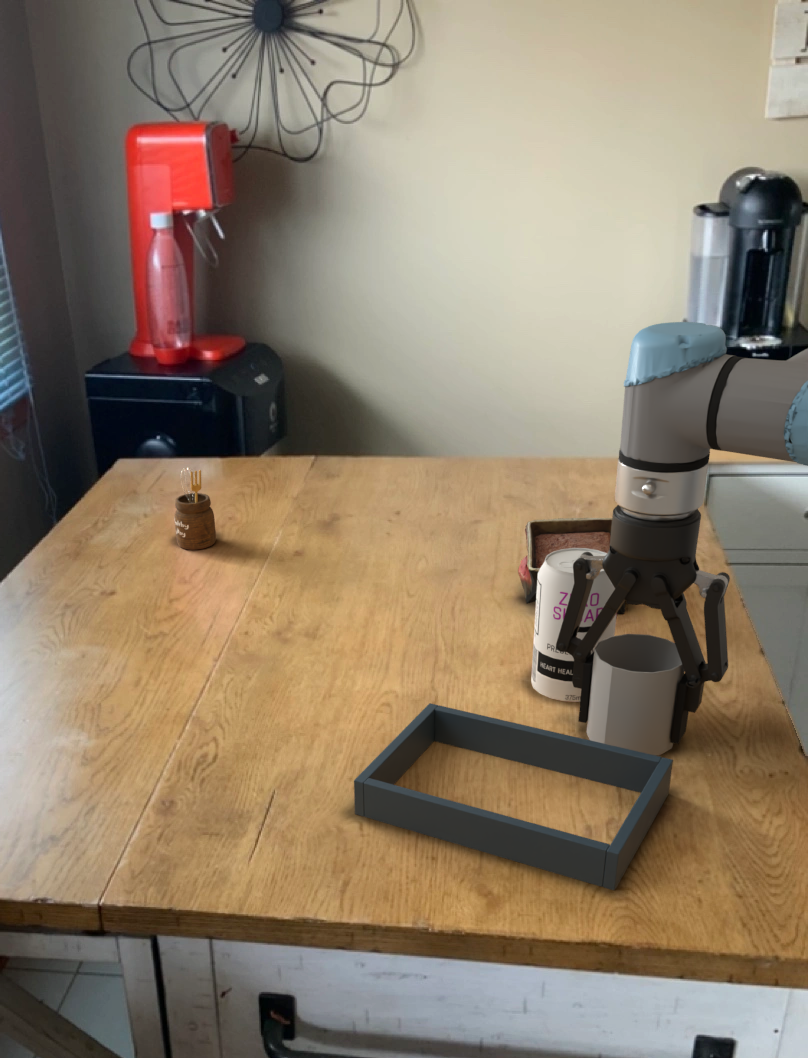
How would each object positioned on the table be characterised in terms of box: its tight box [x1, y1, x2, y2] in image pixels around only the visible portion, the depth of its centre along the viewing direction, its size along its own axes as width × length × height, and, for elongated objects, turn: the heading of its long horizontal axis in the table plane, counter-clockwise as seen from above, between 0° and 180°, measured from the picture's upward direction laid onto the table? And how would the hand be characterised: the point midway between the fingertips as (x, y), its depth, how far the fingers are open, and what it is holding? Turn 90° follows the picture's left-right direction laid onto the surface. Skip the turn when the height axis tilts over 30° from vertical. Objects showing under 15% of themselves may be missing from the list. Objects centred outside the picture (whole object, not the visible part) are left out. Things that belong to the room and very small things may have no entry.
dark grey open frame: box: [353, 702, 674, 891], centre depth 103 cm, size 24×16×4 cm, turn 58°
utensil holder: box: [173, 467, 217, 551], centre depth 165 cm, size 6×6×12 cm
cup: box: [586, 633, 685, 756], centre depth 110 cm, size 8×8×10 cm
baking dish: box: [517, 517, 626, 615], centre depth 143 cm, size 14×18×10 cm
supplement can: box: [530, 548, 618, 703], centre depth 119 cm, size 8×8×15 cm
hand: (631, 726), depth 112 cm, fingers closed on cup, 8 cm apart
